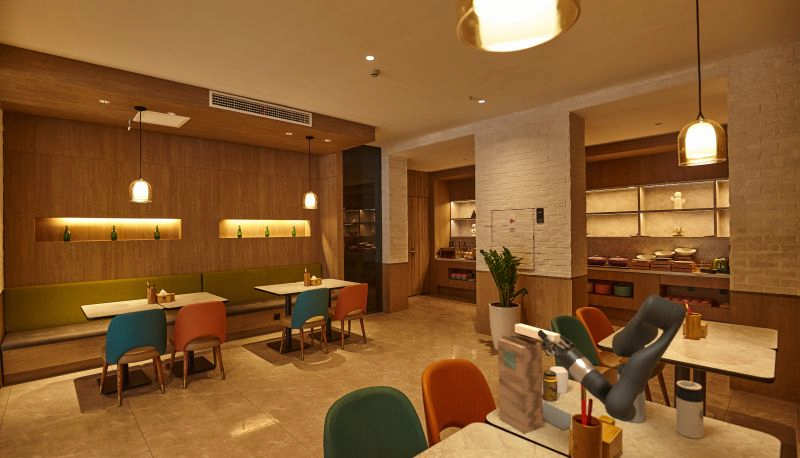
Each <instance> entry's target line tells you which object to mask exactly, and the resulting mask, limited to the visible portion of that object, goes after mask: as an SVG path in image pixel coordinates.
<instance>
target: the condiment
mask: <svg viewBox="0 0 800 458" xmlns="http://www.w3.org/2000/svg"><path fill="white" fill-rule="evenodd" d="M558 394H559V393H557V379H556V373H555V372H554V371H550V370H544V371H543V372H542V396H543V403H553V404H554V403H555V404H559V403H560V401H559V396H558Z"/></svg>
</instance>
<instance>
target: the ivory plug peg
mask: <svg viewBox="0 0 800 458" xmlns="http://www.w3.org/2000/svg"><path fill="white" fill-rule="evenodd" d="M539 330H542V331H543V332H544V333H545V334H546V335H547V336H548V337H549V338H550V339H552V340H554V341H556V342H557V343H559V342H560V335H561V334H560V333H557V332H553V331H552V332H550V331H546V329H543V328H539V327H535V326H531V325H528V324H524V323H515V324H514V332H515V334H518V335H522V336H523V335H524V336H527V337H530V338H532V339H535V340H539V341H542V342H543V340H542V339H541V338H540V337H539V336H538V332H539ZM548 343H549V344H550V342H549V341H548Z"/></svg>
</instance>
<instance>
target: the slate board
mask: <svg viewBox="0 0 800 458" xmlns="http://www.w3.org/2000/svg"><path fill="white" fill-rule="evenodd" d="M572 415H573V414H571V413H568V412H566V411H564V410H562V409H560V408H558V407H556V406H554V405H552V404H551V403H550V404H549V402H543V422H547V423H548V424H550V425H552V427H553V426H554V427H556V428H558V429H559V430H561V431H564V432H565V431H567V430H569V429H571V428H570V426H571V416H572Z"/></svg>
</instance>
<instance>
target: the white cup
mask: <svg viewBox="0 0 800 458" xmlns="http://www.w3.org/2000/svg"><path fill="white" fill-rule="evenodd" d="M549 369H550V370H549V371H554V372H555V373H556V379H557V393H558V394H560V395H563V394H567V393H568V387H569V372H568V371H567V370H566V369H565V368H564V367H563V366H550V368H549Z"/></svg>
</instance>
